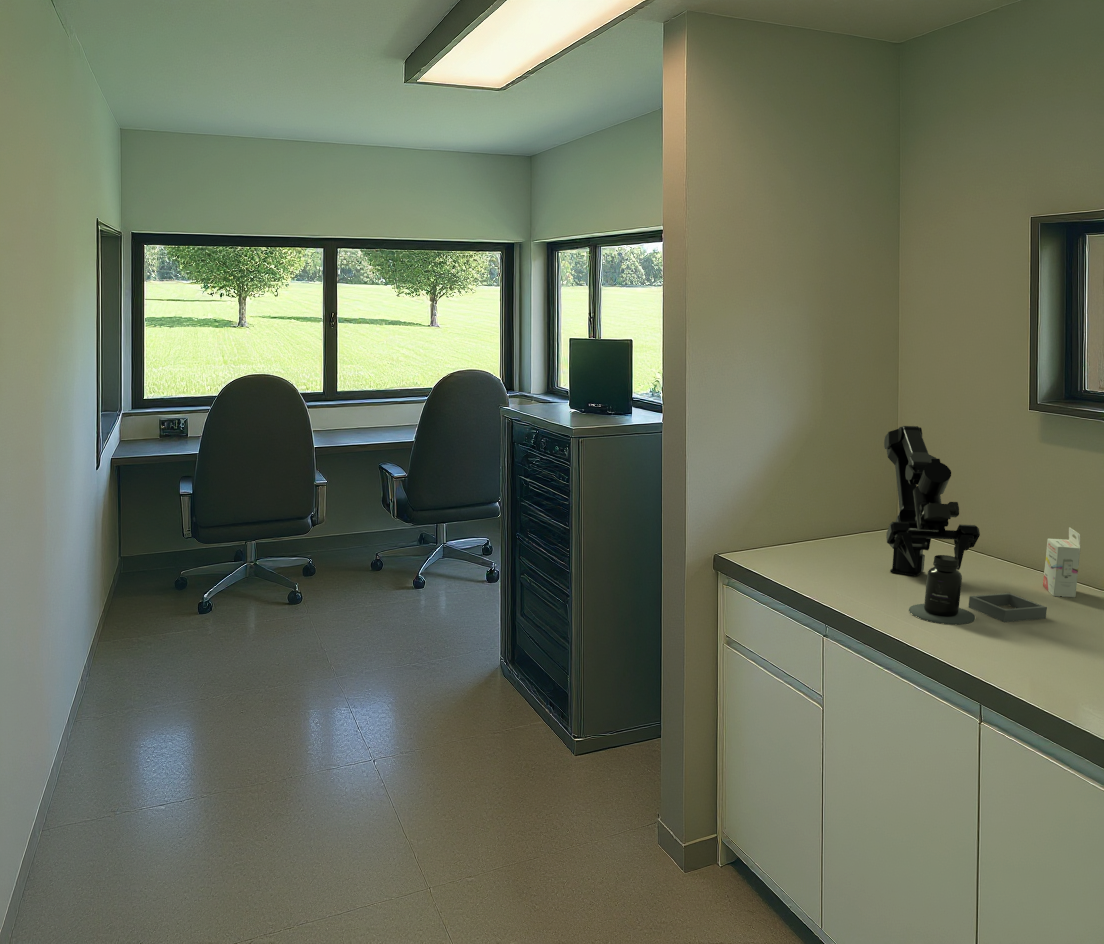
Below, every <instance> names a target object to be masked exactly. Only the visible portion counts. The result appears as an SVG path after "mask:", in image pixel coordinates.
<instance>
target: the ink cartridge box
mask: <svg viewBox="0 0 1104 944" xmlns="http://www.w3.org/2000/svg"><path fill="white" fill-rule="evenodd" d="M1045 552H1046V553H1045V562H1044V572H1043V582H1042V587H1043V588H1044V589H1045V590H1046V591H1047V592H1048V593H1049V594H1051V595H1052V596H1053V597H1060V596H1062V597H1063V598H1076V595H1077V585H1078V577H1079V576H1078V575H1079V566H1080V556H1081V534H1080V533H1079V532H1078V531H1076V530H1074V529H1073V528H1071V526H1070V527H1068V539H1065V538H1064V539H1061V538H1049V537H1048V538H1047V539H1046V551H1045Z"/></svg>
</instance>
